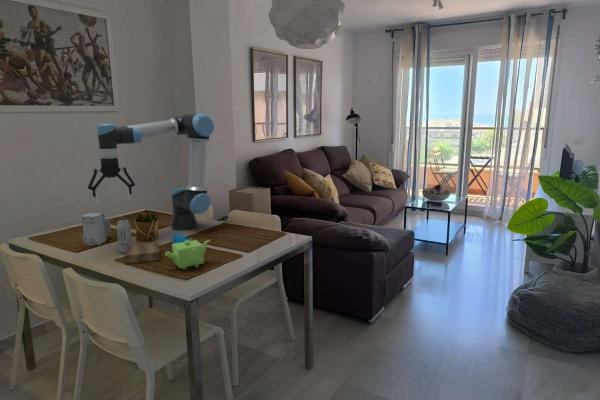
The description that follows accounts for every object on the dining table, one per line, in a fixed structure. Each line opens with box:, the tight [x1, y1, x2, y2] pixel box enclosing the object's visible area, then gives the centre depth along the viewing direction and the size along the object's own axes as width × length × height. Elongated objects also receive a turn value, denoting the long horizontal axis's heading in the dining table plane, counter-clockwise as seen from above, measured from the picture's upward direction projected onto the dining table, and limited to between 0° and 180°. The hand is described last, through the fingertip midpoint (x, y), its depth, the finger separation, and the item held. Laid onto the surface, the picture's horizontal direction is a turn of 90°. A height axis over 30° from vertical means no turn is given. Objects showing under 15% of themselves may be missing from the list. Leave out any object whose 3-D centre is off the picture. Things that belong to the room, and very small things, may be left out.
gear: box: [171, 232, 192, 244], centre depth 200 cm, size 11×6×10 cm
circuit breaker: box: [80, 212, 112, 246], centre depth 211 cm, size 8×14×15 cm, turn 174°
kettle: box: [164, 239, 211, 270], centre depth 176 cm, size 15×14×11 cm
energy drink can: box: [116, 219, 133, 254], centre depth 194 cm, size 6×6×15 cm
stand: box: [125, 242, 161, 265], centre depth 187 cm, size 14×14×4 cm
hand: (113, 202), depth 194 cm, fingers open, 13 cm apart
